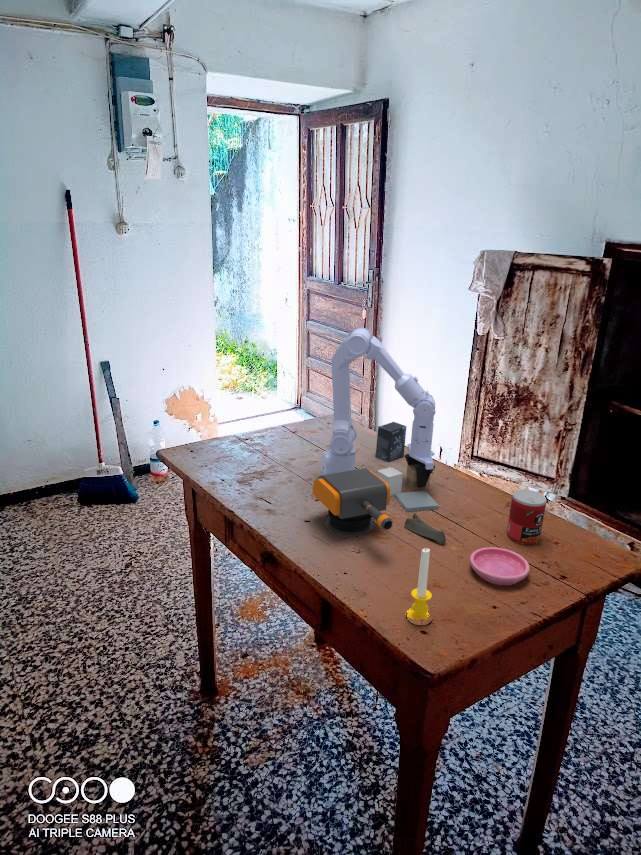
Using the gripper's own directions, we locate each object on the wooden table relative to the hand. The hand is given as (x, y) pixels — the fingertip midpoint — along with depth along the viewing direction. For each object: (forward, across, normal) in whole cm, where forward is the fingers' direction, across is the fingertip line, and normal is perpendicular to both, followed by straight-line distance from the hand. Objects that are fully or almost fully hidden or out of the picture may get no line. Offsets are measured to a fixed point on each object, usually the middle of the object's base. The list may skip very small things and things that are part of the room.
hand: (417, 482), depth 169 cm
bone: (+2, -25, +7) cm, 26 cm away
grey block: (+2, -1, +9) cm, 9 cm away
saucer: (+2, -44, -1) cm, 44 cm away
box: (+2, +23, 0) cm, 23 cm away
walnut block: (+1, 0, 0) cm, 1 cm away
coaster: (+1, -9, +4) cm, 10 cm away
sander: (+2, -22, +24) cm, 33 cm away
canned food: (+2, -31, -15) cm, 34 cm away
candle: (+2, -55, +22) cm, 59 cm away
